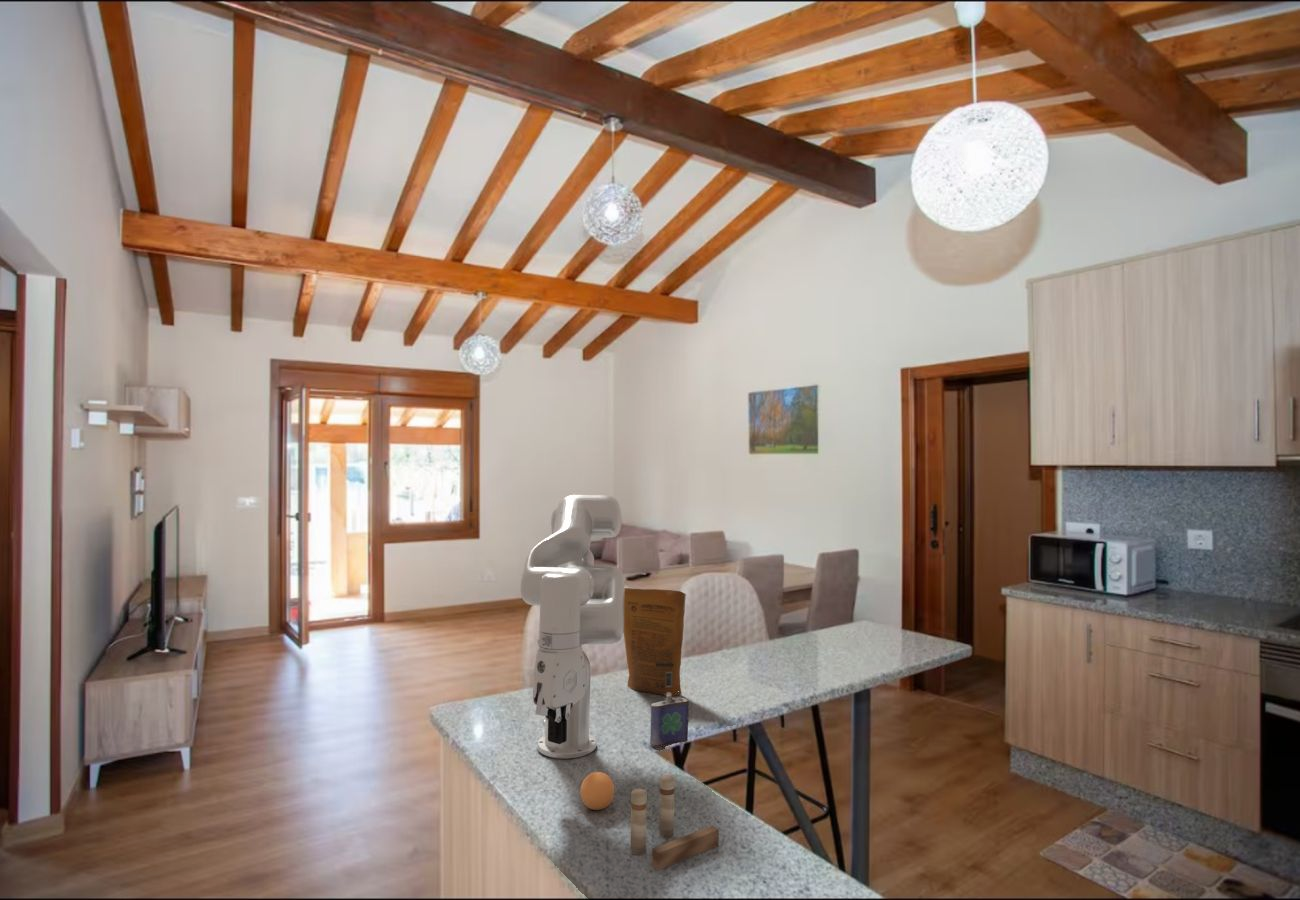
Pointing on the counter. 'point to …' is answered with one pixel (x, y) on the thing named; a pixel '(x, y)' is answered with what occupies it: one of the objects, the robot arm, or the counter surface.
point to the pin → (666, 806)
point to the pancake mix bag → (654, 639)
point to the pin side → (638, 821)
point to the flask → (669, 721)
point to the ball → (597, 790)
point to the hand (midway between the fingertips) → (557, 741)
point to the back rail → (684, 847)
